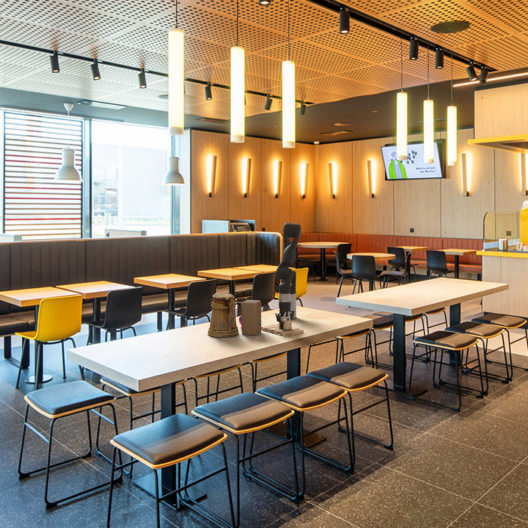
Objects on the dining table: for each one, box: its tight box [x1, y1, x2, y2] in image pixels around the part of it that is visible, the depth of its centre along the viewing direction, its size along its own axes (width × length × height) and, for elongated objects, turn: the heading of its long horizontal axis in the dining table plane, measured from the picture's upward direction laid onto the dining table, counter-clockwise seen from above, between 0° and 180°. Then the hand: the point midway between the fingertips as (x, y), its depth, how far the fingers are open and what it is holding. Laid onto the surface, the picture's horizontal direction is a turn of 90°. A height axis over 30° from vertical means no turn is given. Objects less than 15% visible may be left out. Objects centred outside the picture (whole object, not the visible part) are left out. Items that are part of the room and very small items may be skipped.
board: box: [261, 323, 305, 337], centre depth 332 cm, size 24×14×2 cm, turn 39°
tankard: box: [207, 292, 239, 338], centre depth 324 cm, size 18×24×25 cm
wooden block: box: [240, 299, 262, 336], centre depth 327 cm, size 10×10×20 cm
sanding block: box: [278, 319, 293, 330], centre depth 329 cm, size 7×4×6 cm, turn 39°
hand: (285, 327), depth 329 cm, fingers closed on sanding block, 4 cm apart
